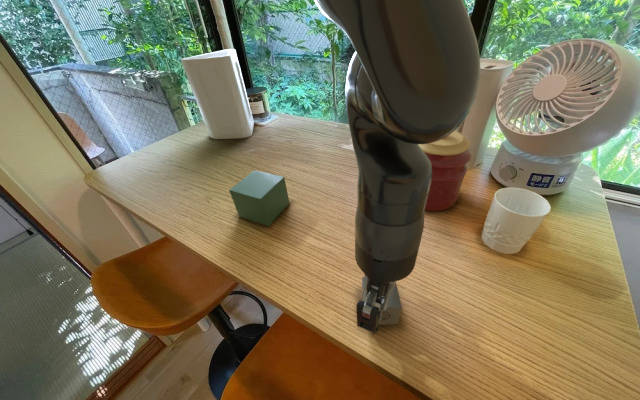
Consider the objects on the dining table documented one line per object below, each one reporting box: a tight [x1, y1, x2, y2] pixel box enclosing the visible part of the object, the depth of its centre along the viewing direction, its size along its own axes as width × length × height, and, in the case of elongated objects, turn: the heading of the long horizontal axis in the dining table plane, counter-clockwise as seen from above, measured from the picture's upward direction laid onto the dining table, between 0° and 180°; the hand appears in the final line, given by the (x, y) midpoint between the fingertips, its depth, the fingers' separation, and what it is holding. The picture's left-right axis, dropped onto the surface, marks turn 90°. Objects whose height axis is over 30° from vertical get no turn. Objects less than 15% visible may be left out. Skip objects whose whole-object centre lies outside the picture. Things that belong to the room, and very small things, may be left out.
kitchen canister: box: [418, 130, 473, 212], centre depth 56 cm, size 13×13×18 cm
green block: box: [228, 169, 290, 227], centre depth 60 cm, size 9×9×8 cm
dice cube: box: [361, 276, 403, 325], centre depth 39 cm, size 5×5×5 cm
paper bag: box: [180, 48, 255, 140], centre depth 95 cm, size 19×15×28 cm
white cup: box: [480, 186, 552, 255], centre depth 46 cm, size 8×8×10 cm
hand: (378, 306), depth 40 cm, fingers closed on dice cube, 6 cm apart
